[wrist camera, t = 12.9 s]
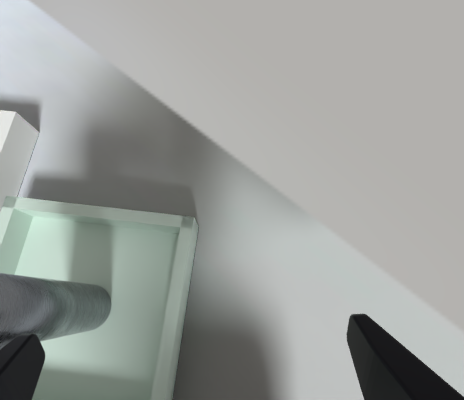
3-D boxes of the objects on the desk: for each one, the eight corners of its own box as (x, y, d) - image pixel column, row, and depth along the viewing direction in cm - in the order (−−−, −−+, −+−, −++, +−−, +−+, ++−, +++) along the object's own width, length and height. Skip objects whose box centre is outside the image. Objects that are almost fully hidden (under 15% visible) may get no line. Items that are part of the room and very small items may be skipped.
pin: (104, 342, 21) (-114, 415, 8) (53, 328, 21) (-248, 375, 8) (123, 286, 22) (-40, 265, 9) (74, 274, 22) (-159, 234, 9)
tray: (168, 427, 20) (157, 447, 17) (-30, 399, 21) (-72, 414, 18) (198, 227, 24) (194, 216, 21) (32, 208, 25) (6, 195, 22)
